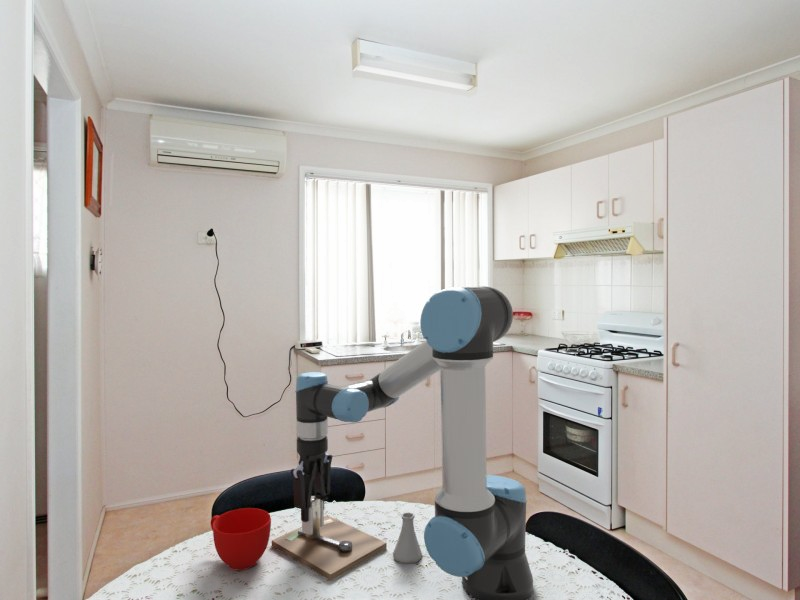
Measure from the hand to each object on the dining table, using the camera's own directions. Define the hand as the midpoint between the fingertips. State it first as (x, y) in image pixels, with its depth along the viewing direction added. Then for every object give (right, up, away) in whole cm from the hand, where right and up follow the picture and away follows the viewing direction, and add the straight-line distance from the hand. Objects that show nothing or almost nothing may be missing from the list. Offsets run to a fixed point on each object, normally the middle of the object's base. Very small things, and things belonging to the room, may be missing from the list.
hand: (313, 528), depth 129 cm
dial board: (+4, -4, -1) cm, 6 cm away
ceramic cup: (-17, -5, -7) cm, 19 cm away
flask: (+23, -5, -5) cm, 24 cm away
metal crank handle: (+3, -2, -2) cm, 4 cm away
